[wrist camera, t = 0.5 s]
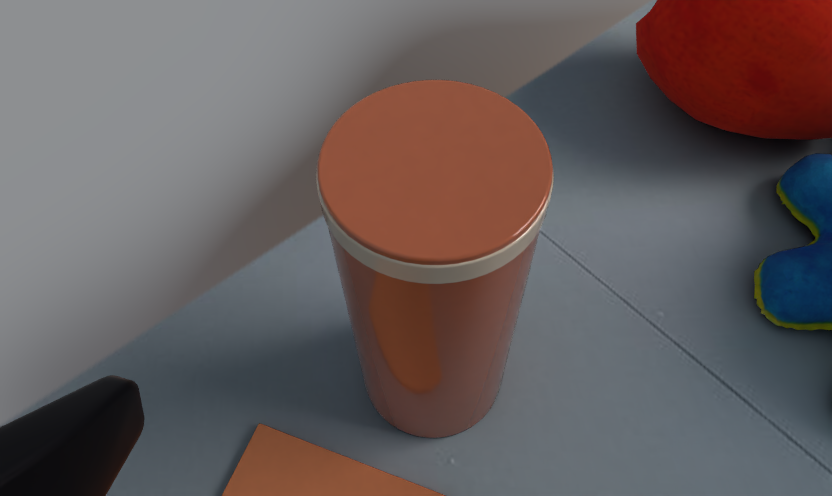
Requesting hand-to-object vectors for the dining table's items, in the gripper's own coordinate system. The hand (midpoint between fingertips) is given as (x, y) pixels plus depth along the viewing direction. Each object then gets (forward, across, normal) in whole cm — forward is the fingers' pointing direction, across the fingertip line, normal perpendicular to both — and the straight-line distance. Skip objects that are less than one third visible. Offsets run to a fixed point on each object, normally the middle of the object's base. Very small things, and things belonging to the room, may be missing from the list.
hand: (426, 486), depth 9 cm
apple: (+28, -15, +1) cm, 31 cm away
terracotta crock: (+13, +2, +11) cm, 17 cm away
